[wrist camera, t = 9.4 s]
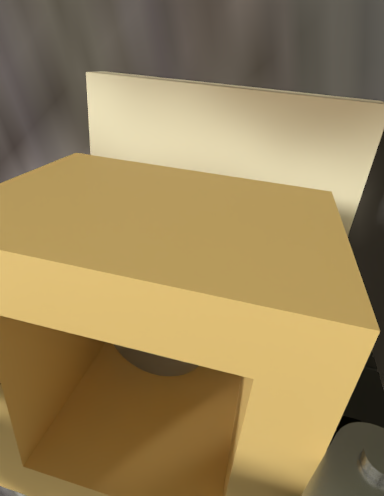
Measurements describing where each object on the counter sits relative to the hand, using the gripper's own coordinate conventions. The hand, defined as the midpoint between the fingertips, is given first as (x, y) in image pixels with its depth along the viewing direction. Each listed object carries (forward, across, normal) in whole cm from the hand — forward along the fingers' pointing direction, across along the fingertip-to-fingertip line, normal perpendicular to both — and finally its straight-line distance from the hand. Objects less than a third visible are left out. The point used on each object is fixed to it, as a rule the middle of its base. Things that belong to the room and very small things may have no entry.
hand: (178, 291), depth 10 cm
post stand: (+6, 0, 0) cm, 6 cm away
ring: (+1, 0, 0) cm, 1 cm away
